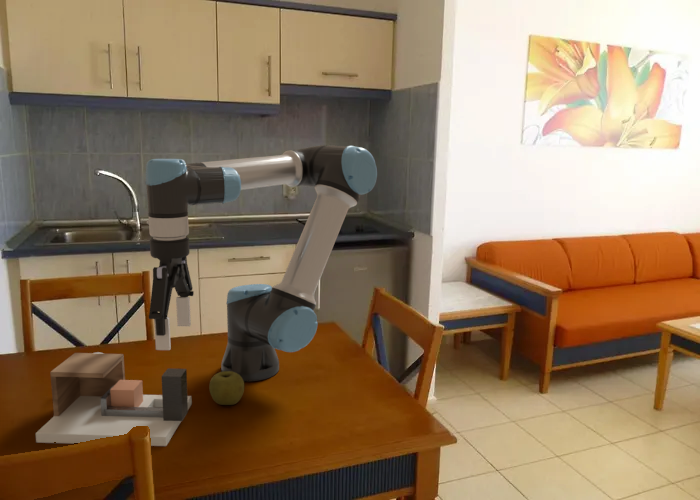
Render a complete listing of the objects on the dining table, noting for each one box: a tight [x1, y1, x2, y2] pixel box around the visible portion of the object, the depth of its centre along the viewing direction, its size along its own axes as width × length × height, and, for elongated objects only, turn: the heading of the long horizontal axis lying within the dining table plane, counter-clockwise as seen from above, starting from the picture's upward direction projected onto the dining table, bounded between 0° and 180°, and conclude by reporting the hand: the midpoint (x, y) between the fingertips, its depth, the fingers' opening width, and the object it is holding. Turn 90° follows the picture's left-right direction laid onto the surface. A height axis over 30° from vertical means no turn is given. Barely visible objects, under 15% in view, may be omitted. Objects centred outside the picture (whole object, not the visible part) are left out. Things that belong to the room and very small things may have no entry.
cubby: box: [50, 352, 126, 417], centre depth 122 cm, size 11×10×10 cm
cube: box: [110, 379, 144, 407], centre depth 122 cm, size 5×5×5 cm
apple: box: [209, 371, 245, 406], centre depth 129 cm, size 8×8×7 cm
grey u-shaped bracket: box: [100, 367, 189, 422], centre depth 120 cm, size 18×8×10 cm, turn 90°
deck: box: [35, 394, 193, 447], centre depth 120 cm, size 26×18×2 cm
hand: (174, 337), depth 116 cm, fingers open, 13 cm apart
